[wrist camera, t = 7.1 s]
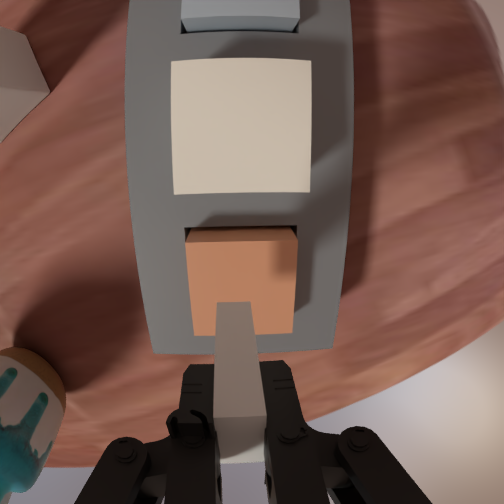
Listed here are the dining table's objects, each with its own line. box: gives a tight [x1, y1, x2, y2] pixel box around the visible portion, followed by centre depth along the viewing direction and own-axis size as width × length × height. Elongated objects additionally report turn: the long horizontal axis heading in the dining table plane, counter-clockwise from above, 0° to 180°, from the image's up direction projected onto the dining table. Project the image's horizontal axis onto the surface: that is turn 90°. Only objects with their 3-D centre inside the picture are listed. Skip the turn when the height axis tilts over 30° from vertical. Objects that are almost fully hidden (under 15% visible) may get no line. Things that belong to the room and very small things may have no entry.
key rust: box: [185, 225, 298, 336], centre depth 21 cm, size 6×6×6 cm
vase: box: [0, 347, 66, 503], centre depth 19 cm, size 11×11×19 cm
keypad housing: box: [125, 0, 354, 354], centre depth 19 cm, size 13×30×5 cm, turn 0°
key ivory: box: [171, 58, 312, 195], centre depth 15 cm, size 6×6×6 cm
